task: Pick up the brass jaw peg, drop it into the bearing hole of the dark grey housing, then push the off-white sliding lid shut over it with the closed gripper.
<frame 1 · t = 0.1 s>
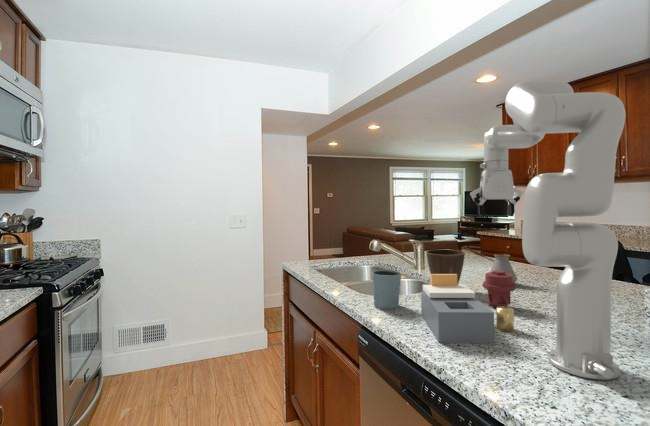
hand: (496, 216, 120), 31 cm above the worktop, tool pointing down, fingers open, 9 cm apart
housing: (458, 334, 96), on the worktop
jaw peg: (505, 329, 99), on the worktop
mechanical component: (498, 307, 119), on the worktop
blue-grey cup: (386, 306, 123), on the worktop
plant pot: (445, 291, 142), on the worktop
coffee pot: (489, 283, 154), on the worktop
lid: (447, 285, 106), point 11 cm above the worktop, slide at 11.0 cm
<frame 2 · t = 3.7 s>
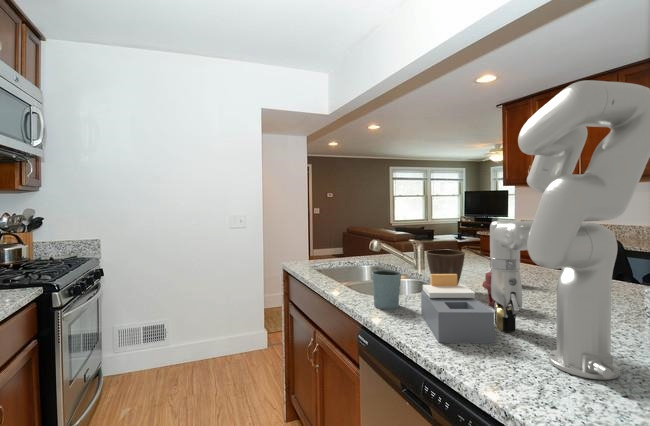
hand: (504, 327, 99), 1 cm above the worktop, tool pointing down, fingers closed on jaw peg, 4 cm apart
jaw peg: (504, 329, 99), on the worktop, touching gripper
everything else where it was.
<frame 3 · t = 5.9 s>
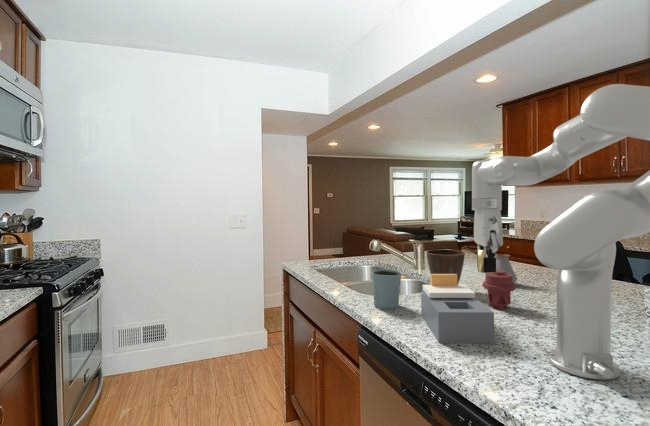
hand: (486, 269, 97), 17 cm above the worktop, tool pointing down, fingers closed on jaw peg, 4 cm apart
jaw peg: (486, 271, 97), point 17 cm above the worktop, touching gripper
everything else where it was.
when the fingers open (9 cm above the worktop, at t = 8.3 s): jaw peg drops 6 cm, resting on housing.
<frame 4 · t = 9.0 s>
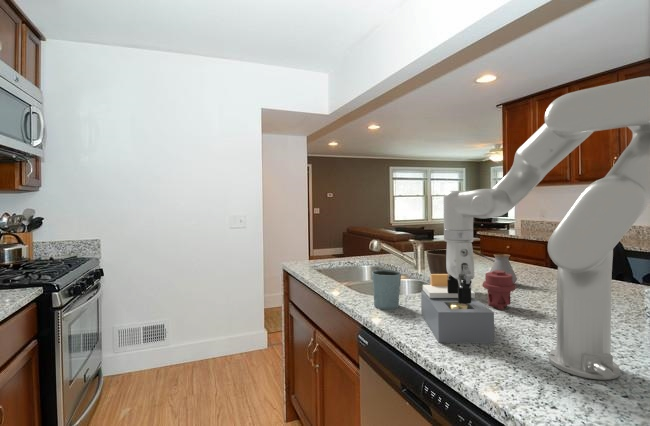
hand: (458, 297, 95), 10 cm above the worktop, tool pointing down, fingers open, 9 cm apart
jaw peg: (458, 326, 96), point 2 cm above the worktop, touching housing
everything else where it was.
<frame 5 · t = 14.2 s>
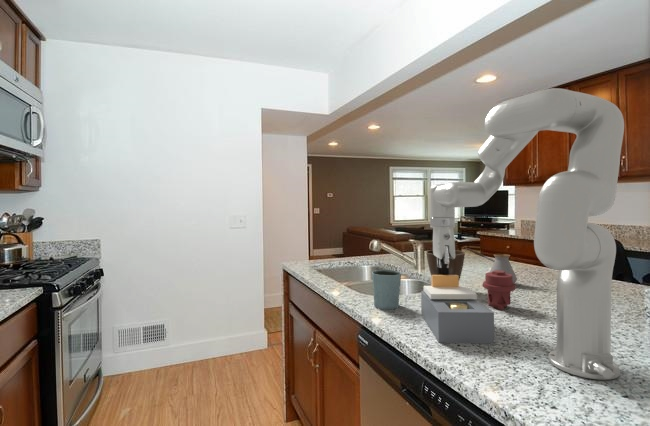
hand: (442, 279, 112), 11 cm above the worktop, tool pointing down, fingers closed
lid: (448, 286, 105), point 11 cm above the worktop, slide at 9.6 cm, touching gripper
everything else where it was.
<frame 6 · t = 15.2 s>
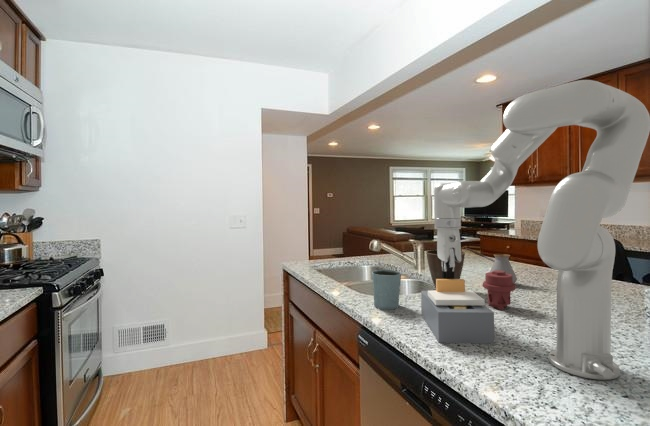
hand: (448, 283, 106), 11 cm above the worktop, tool pointing down, fingers closed
lid: (454, 291, 99), point 11 cm above the worktop, slide at 3.8 cm, touching gripper
everything else where it was.
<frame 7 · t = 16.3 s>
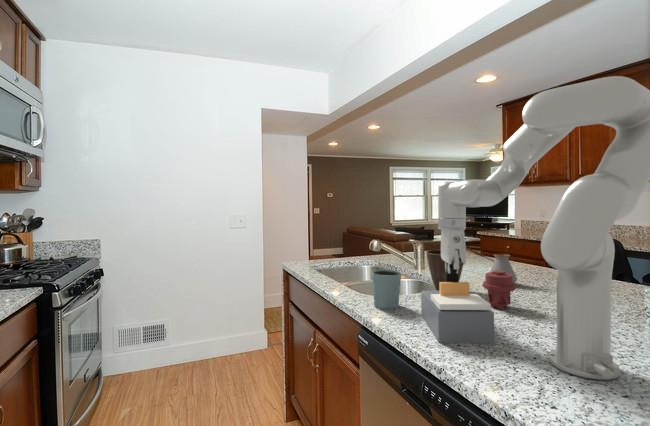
hand: (451, 286, 102), 12 cm above the worktop, tool pointing down, fingers closed
lid: (459, 295, 95), point 11 cm above the worktop, slide at -0.3 cm, touching gripper
everything else where it was.
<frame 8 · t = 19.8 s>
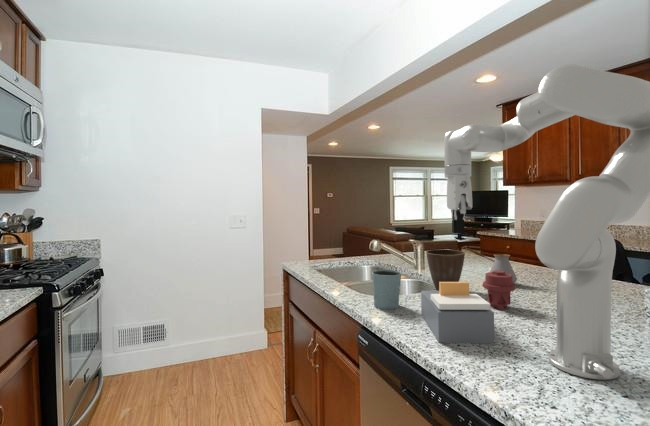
hand: (458, 232, 104), 27 cm above the worktop, tool pointing down, fingers closed
lid: (458, 295, 95), point 11 cm above the worktop, slide at 0.0 cm
everything else where it was.
at the end: jaw peg 0.1 cm off-centre on the housing, point 2.0 cm above the housing's base; jaw peg tilted 0°; lid slide at 0.0 cm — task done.
